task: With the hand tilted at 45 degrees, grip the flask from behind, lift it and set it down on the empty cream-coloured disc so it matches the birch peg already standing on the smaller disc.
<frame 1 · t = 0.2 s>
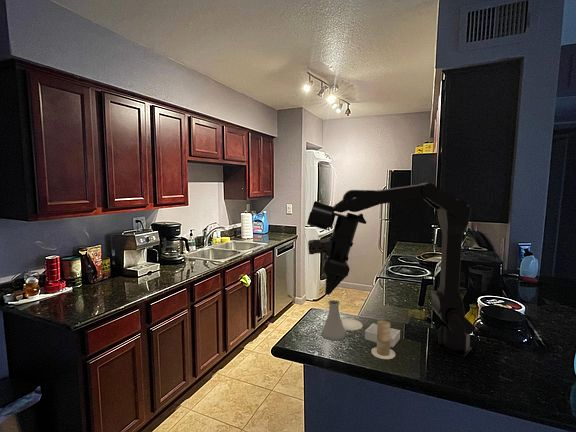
hand: (327, 288, 85), 15 cm above the worktop, tool tilted 15°, fingers open, 9 cm apart
birch peg: (383, 352, 80), resting on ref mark
grey cover: (382, 339, 88), on the worktop
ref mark: (383, 352, 80), on the worktop
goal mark: (349, 324, 97), on the worktop
flask: (333, 335, 90), on the worktop
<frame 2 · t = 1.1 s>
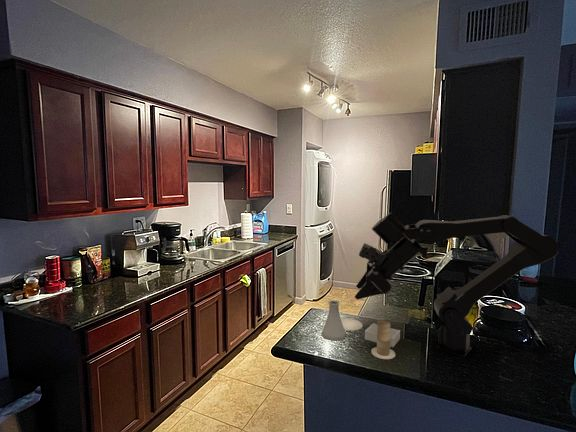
hand: (356, 292, 87), 13 cm above the worktop, tool tilted 45°, fingers open, 9 cm apart
nothing on the worktop moved.
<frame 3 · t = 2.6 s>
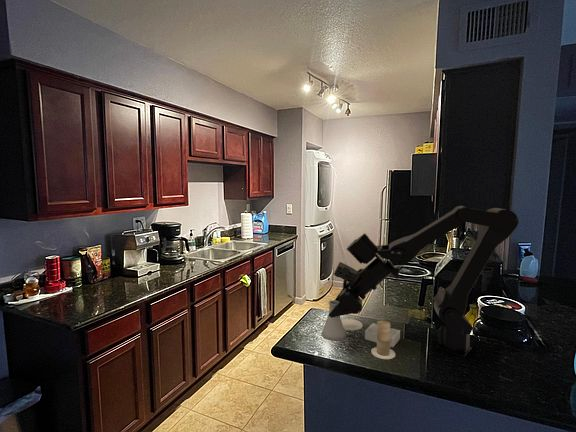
hand: (331, 309, 90), 8 cm above the worktop, tool tilted 45°, fingers open, 9 cm apart
nothing on the worktop moved.
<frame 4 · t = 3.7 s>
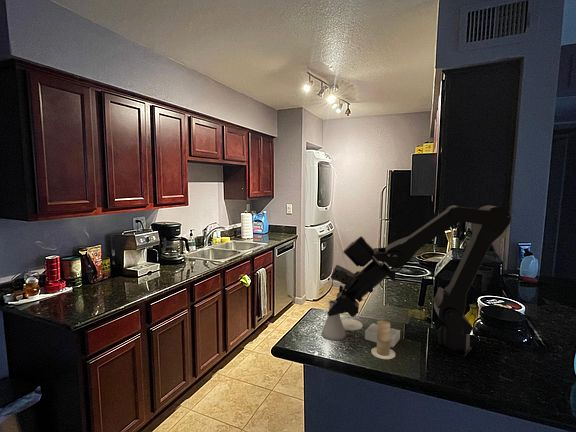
hand: (328, 312, 90), 7 cm above the worktop, tool tilted 45°, fingers closed on flask, 3 cm apart
flask: (333, 335, 90), on the worktop, touching gripper
everything else where it was.
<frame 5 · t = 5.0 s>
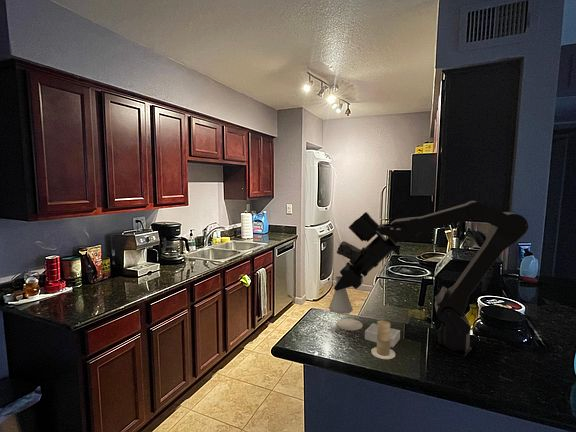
hand: (336, 287, 92), 13 cm above the worktop, tool tilted 45°, fingers closed on flask, 3 cm apart
flask: (340, 310, 92), point 6 cm above the worktop, touching gripper
everything else where it was.
when the fingers open (8 cm above the worktop, at t = 6.5 s): flask stays where it is, resting on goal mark.
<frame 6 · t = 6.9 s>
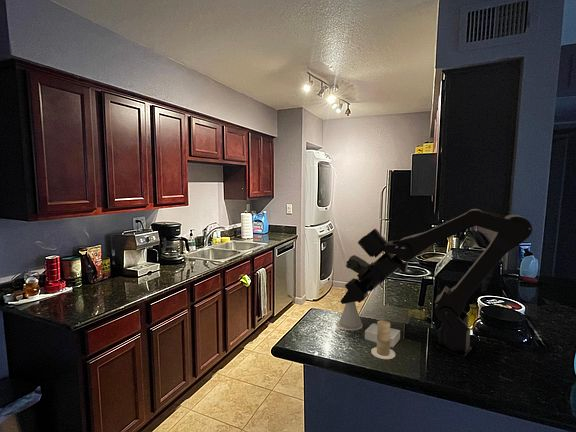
hand: (345, 298, 97), 8 cm above the worktop, tool tilted 45°, fingers open, 7 cm apart
flask: (350, 324, 97), resting on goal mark
everything else where it was.
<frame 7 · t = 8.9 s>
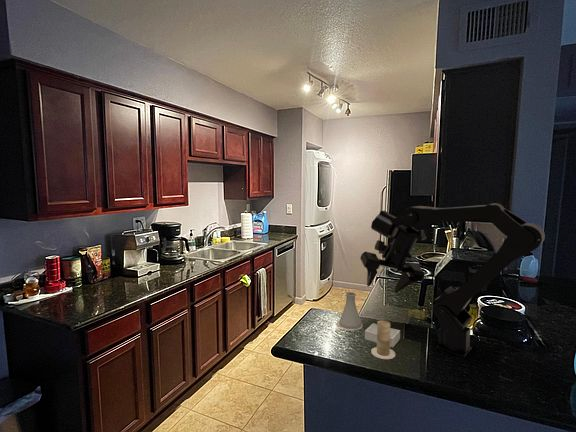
hand: (381, 288, 96), 12 cm above the worktop, tool tilted 25°, fingers open, 9 cm apart
nothing on the worktop moved.
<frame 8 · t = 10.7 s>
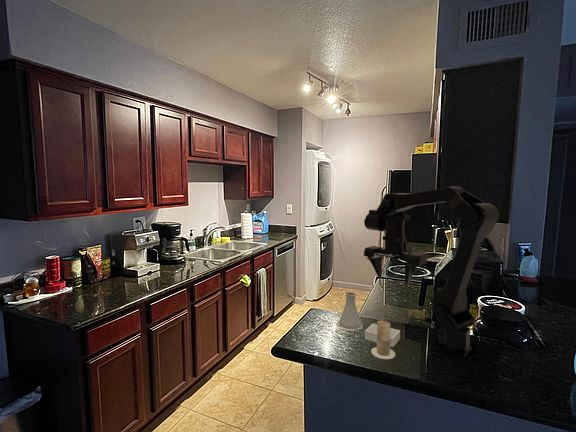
hand: (393, 281, 98), 13 cm above the worktop, tool pointing down, fingers open, 9 cm apart
nothing on the worktop moved.
at the end: flask 0.2 cm from the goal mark (horizontally); flask tilted 0°; the gripper is holding nothing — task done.
